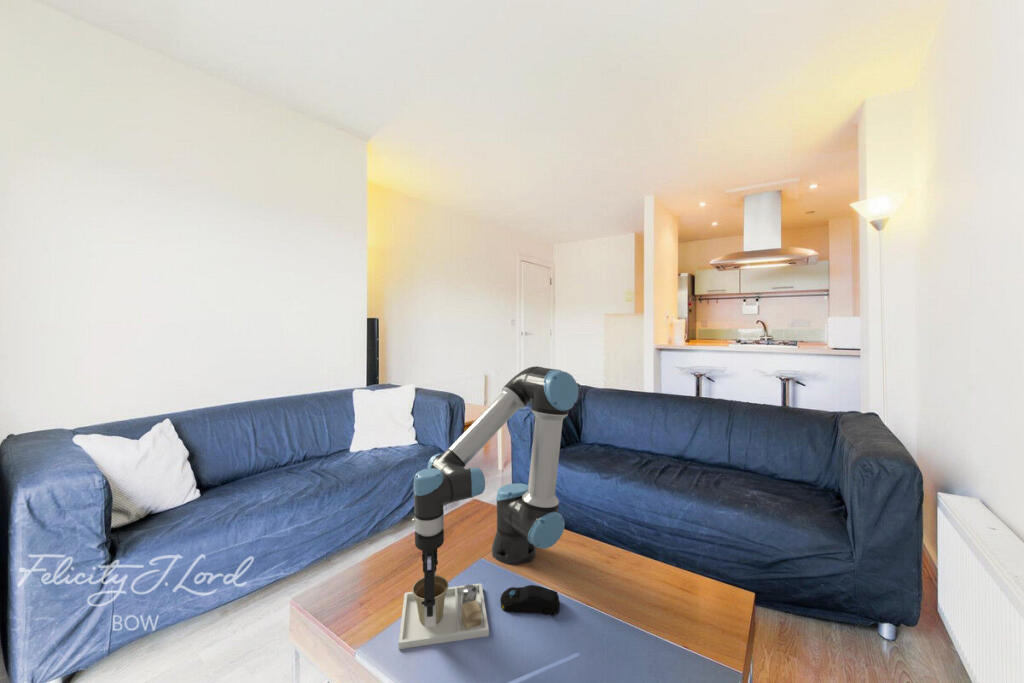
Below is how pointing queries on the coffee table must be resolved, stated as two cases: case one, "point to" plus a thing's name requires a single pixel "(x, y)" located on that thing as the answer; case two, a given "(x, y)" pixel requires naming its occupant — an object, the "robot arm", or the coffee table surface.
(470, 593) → the metal part
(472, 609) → the beech part
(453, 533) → the coffee table surface
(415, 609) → the tray
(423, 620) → the flower pot
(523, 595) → the toy car
